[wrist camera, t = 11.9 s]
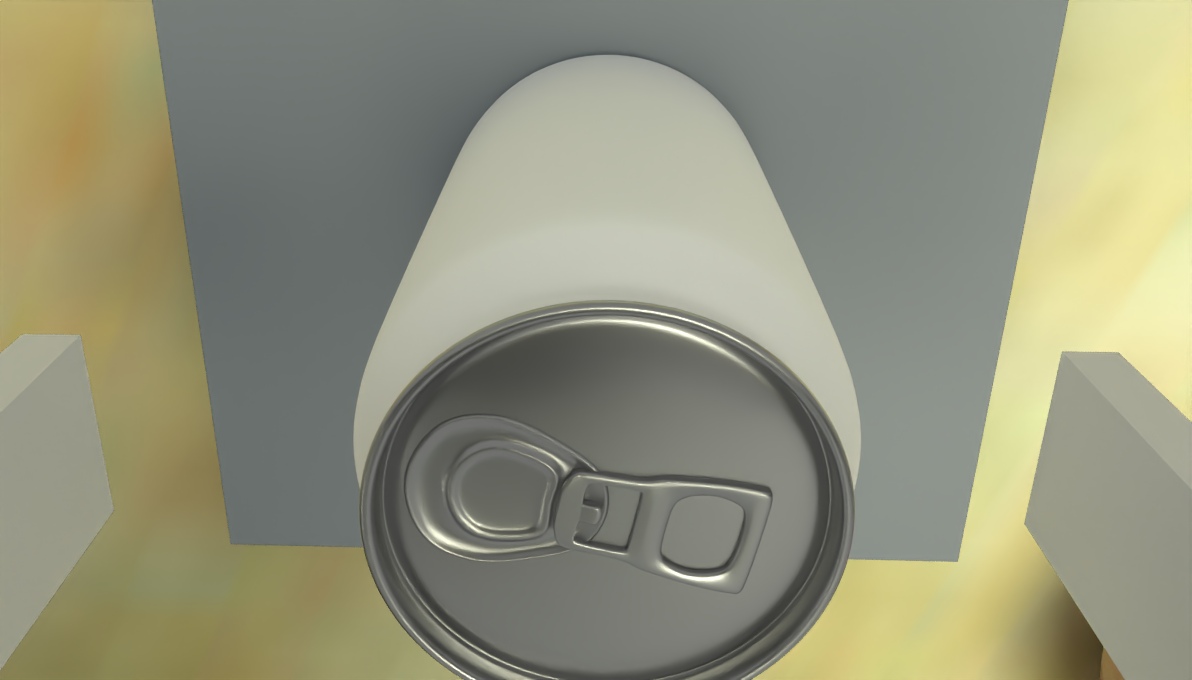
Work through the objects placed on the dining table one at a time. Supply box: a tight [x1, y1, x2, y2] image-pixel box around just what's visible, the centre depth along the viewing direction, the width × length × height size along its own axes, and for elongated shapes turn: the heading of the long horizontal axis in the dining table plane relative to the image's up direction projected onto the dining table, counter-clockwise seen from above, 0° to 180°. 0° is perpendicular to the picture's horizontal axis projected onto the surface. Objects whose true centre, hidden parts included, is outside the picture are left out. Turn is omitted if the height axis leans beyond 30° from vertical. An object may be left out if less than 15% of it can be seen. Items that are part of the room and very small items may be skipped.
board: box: [152, 0, 1069, 562], centre depth 24 cm, size 18×18×1 cm
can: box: [353, 55, 861, 680], centre depth 18 cm, size 6×6×12 cm
